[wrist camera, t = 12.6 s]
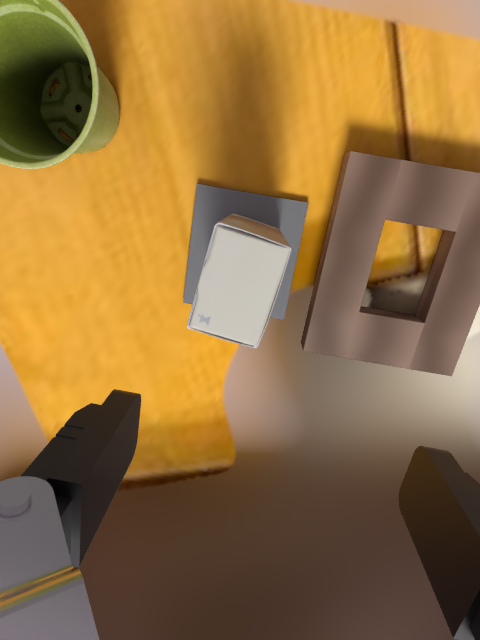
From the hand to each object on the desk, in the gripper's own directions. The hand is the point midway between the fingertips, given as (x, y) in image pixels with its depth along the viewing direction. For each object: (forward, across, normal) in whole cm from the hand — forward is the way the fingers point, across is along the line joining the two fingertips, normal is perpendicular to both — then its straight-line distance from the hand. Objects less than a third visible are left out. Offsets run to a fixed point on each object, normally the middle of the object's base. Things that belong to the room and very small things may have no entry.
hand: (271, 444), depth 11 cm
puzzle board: (+23, -11, -2) cm, 26 cm away
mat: (+23, +2, -1) cm, 23 cm away
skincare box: (+23, +2, -1) cm, 23 cm away
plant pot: (+23, +16, -10) cm, 30 cm away
